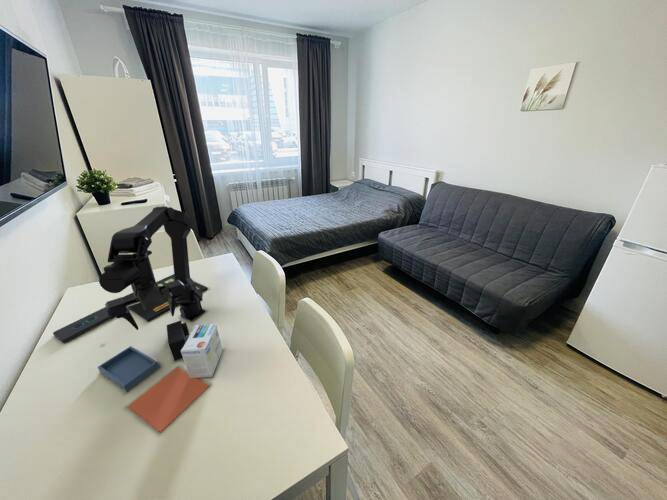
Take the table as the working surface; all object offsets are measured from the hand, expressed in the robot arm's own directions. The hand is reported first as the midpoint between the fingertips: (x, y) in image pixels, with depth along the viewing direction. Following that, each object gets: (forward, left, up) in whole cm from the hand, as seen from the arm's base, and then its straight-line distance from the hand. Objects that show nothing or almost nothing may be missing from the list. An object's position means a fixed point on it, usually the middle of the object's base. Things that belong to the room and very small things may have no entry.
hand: (155, 322), depth 80 cm
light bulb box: (-3, +15, -13) cm, 20 cm away
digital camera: (-4, +2, -13) cm, 14 cm away
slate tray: (+9, -4, -13) cm, 16 cm away
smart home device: (+3, -40, -13) cm, 42 cm away
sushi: (-20, -33, -13) cm, 41 cm away
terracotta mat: (+9, +15, -13) cm, 22 cm away
